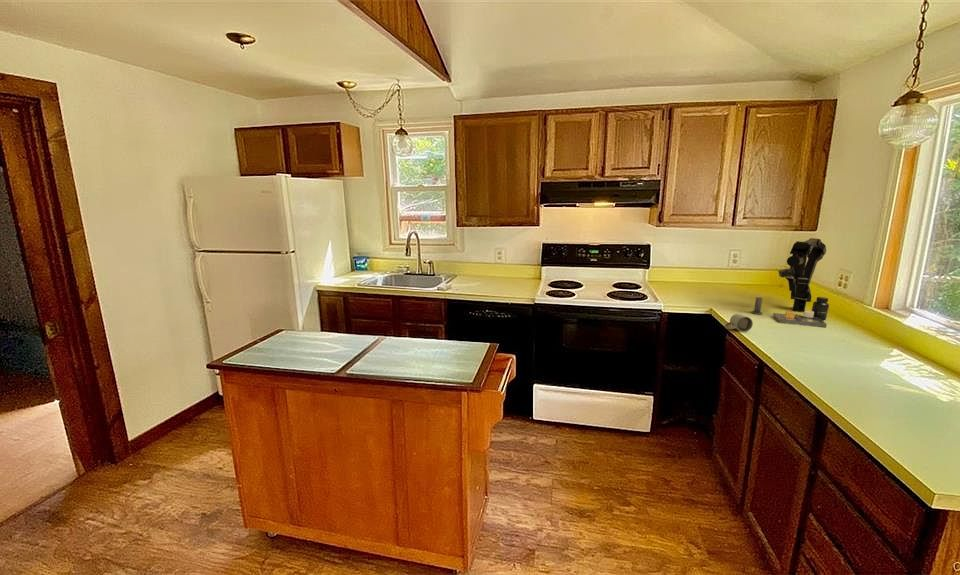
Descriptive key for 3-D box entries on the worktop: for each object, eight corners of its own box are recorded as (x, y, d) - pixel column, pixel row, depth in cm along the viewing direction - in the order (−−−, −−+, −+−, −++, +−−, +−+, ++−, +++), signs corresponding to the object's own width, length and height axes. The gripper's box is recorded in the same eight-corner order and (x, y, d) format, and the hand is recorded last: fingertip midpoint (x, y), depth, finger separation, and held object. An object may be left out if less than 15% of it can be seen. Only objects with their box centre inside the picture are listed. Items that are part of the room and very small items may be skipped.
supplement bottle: (819, 321, 224) (824, 299, 221) (806, 317, 231) (811, 296, 228) (829, 320, 226) (833, 298, 223) (816, 316, 232) (820, 295, 230)
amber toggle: (784, 316, 224) (785, 310, 223) (792, 317, 223) (793, 311, 222) (785, 317, 222) (787, 311, 221) (794, 318, 221) (795, 312, 220)
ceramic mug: (742, 326, 213) (744, 312, 212) (751, 332, 205) (754, 317, 204) (721, 326, 214) (723, 311, 212) (729, 331, 206) (731, 316, 204)
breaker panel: (772, 316, 232) (773, 311, 231) (816, 320, 225) (817, 315, 225) (779, 322, 221) (780, 317, 220) (826, 327, 214) (827, 322, 214)
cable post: (750, 311, 240) (752, 296, 238) (760, 312, 238) (763, 297, 236) (752, 314, 235) (755, 298, 233) (763, 315, 233) (766, 299, 231)
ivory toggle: (803, 315, 225) (804, 310, 225) (811, 316, 224) (812, 310, 223) (804, 316, 223) (806, 311, 223) (813, 317, 222) (814, 311, 222)
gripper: (776, 261, 240) (771, 287, 244) (787, 266, 223) (781, 295, 227) (799, 262, 237) (794, 289, 241) (812, 268, 220) (806, 297, 223)
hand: (793, 292), depth 233 cm, fingers open, 9 cm apart
